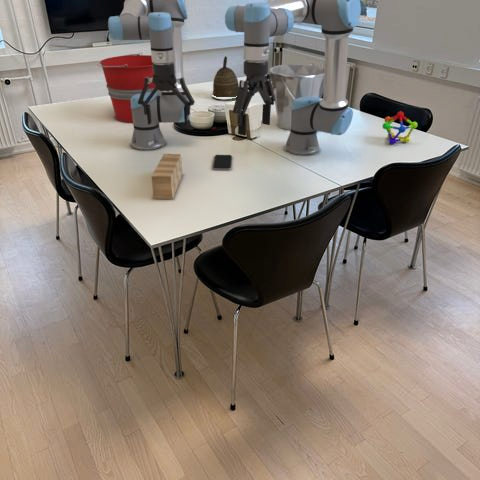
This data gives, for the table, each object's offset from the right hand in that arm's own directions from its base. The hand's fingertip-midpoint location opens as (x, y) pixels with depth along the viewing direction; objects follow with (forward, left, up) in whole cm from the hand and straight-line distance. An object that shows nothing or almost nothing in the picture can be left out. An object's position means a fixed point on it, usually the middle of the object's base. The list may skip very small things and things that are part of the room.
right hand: (254, 129), depth 145 cm
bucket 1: (-57, -105, -26) cm, 123 cm away
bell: (-117, -85, -26) cm, 147 cm away
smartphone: (-24, -28, -26) cm, 45 cm away
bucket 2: (-88, -24, -26) cm, 95 cm away
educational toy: (-88, +29, -26) cm, 96 cm away
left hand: (0, -37, -4) cm, 37 cm away
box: (+6, -33, -26) cm, 43 cm away
